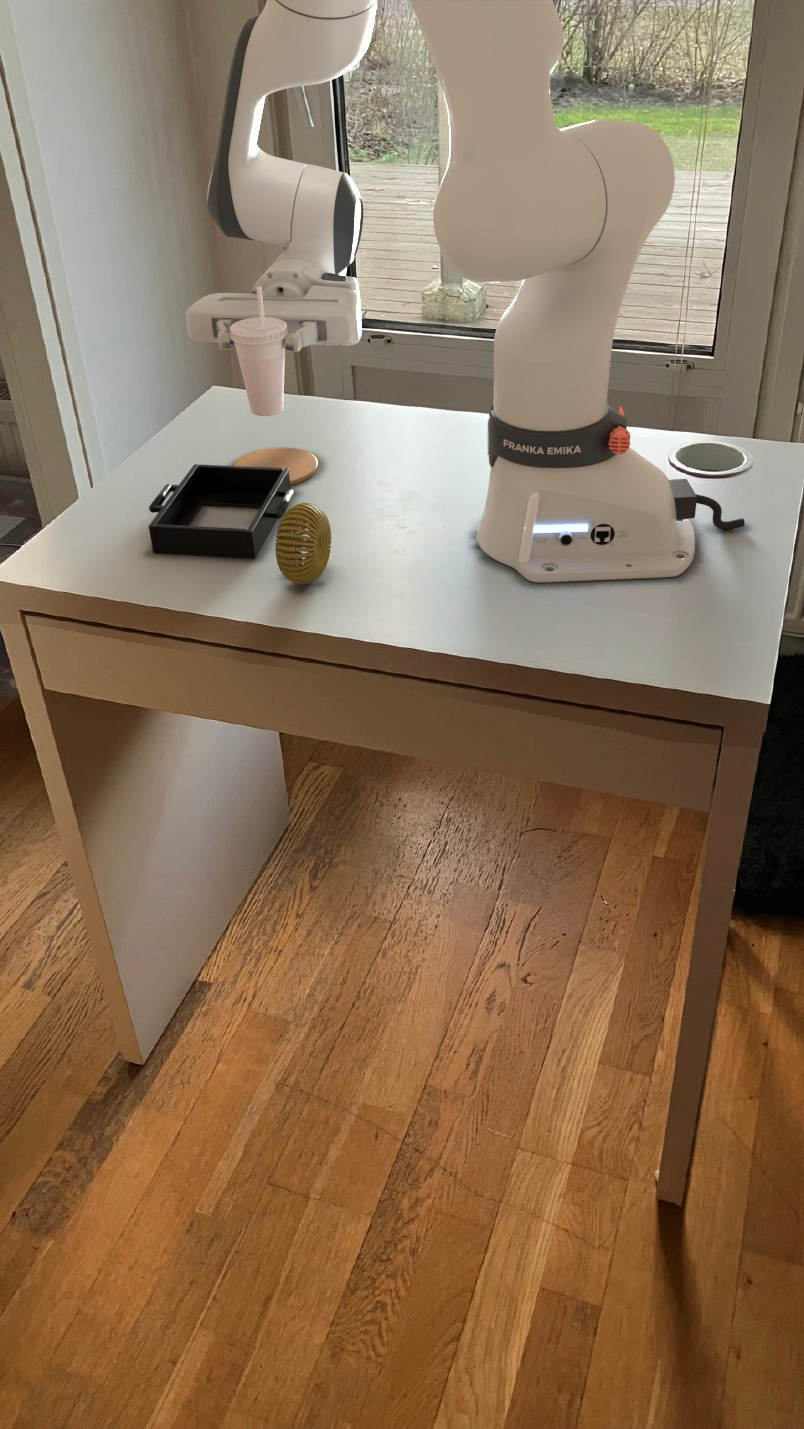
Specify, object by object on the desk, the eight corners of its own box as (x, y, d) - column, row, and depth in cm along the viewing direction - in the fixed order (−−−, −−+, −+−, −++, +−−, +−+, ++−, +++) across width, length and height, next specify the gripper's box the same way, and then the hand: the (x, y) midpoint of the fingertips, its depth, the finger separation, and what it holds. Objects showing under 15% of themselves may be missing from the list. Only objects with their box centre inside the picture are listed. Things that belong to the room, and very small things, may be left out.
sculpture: (303, 557, 123) (296, 487, 118) (339, 562, 122) (333, 491, 117) (273, 596, 117) (264, 523, 112) (311, 601, 116) (304, 528, 111)
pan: (307, 494, 135) (305, 468, 133) (272, 560, 123) (269, 532, 121) (182, 489, 137) (178, 463, 135) (136, 552, 125) (131, 525, 123)
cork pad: (326, 452, 144) (325, 448, 144) (306, 489, 136) (306, 485, 136) (246, 449, 145) (246, 445, 145) (223, 485, 138) (222, 481, 137)
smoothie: (286, 422, 133) (274, 296, 125) (232, 419, 134) (216, 295, 126) (301, 400, 138) (290, 278, 130) (248, 397, 139) (234, 276, 131)
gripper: (202, 274, 141) (163, 313, 131) (370, 277, 138) (345, 317, 127) (209, 327, 145) (172, 369, 134) (372, 331, 142) (348, 374, 131)
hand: (257, 344), depth 131 cm, fingers closed on smoothie, 6 cm apart
